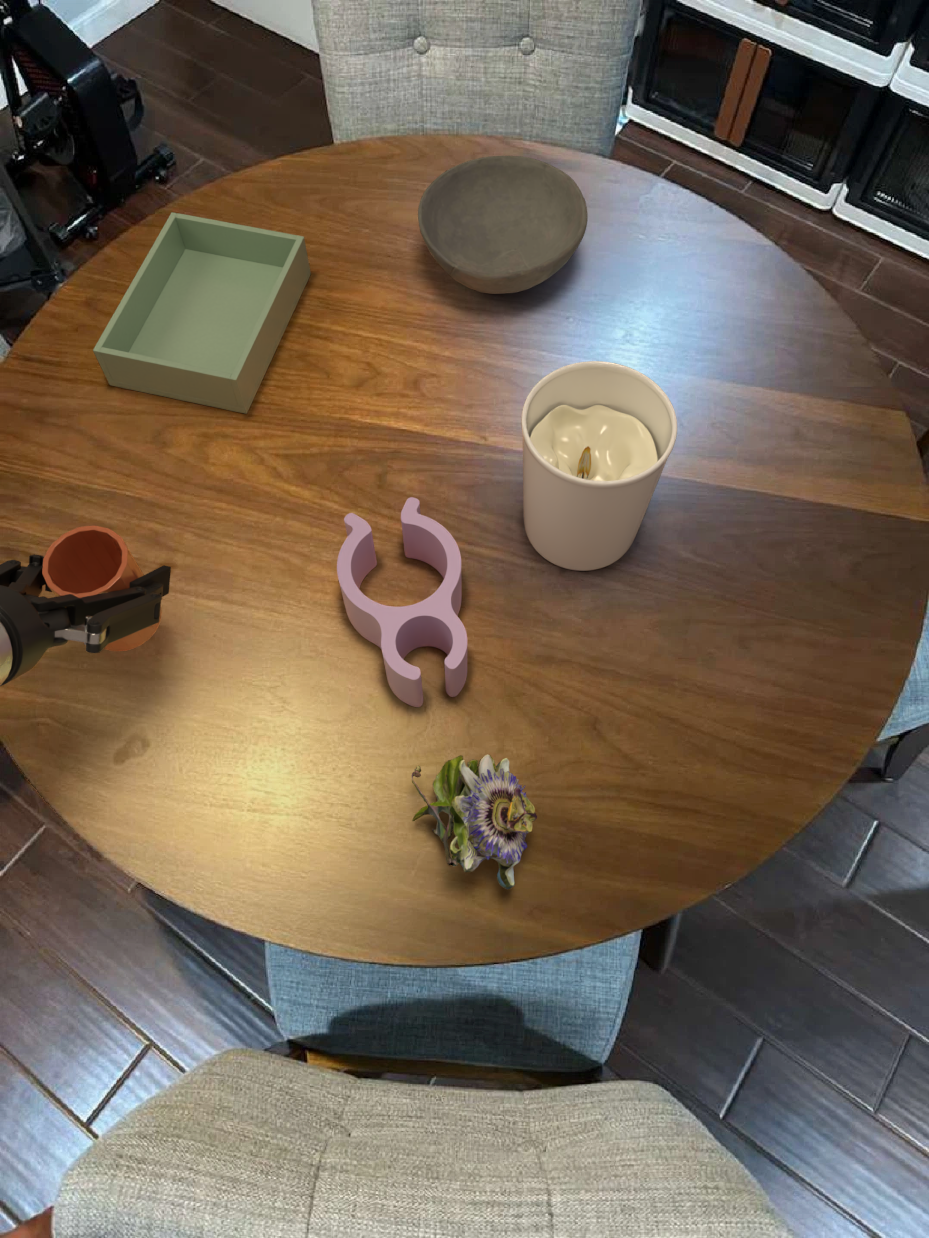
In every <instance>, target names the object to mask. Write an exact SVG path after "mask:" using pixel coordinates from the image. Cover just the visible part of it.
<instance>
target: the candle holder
mask: <svg viewBox="0 0 929 1238" xmlns="http://www.w3.org/2000/svg"><path fill="white" fill-rule="evenodd" d="M521 410H522V411H521V416H520V426H521V427H520V428H521V433H522V509H523V526H524V530H525V533H526V536H527V540H528V541H529V544H530V545H531V546H532V547H533V549H534V550H535V551H536V552H537V553H538V554H539V555H540V556H541V557H542V558H544V559H545V560H546V561H548V562H550V563H551V564H553V565H555V566H557V567H559V568H563V569H565V570H570V571H571V570H572V571H577V572H585V571H586V572H587V571H595V570H599V569H603V568H605V567H608V566H610V565H612V564H614V563H615V562H617V561H618V560H620V559H621V558H622V557H623V556H624V555H625V554H626V553H628V551H629V550H630V548H631V547H632V544H633V543H634V541H635V539H636V536H637V535H638V532H639V530H640V528H641V525H642V523H643V520H644V518H645V516H646V513H647V511H648V507H649V506H650V504H651V501H652V498H653V495H654V493H655V491H656V488H657V486H658V483H659V481H660V478H661V476H662V473H663V471H664V468H665V466H666V463H667V461H668V458H669V457H670V455H671V454H672V451H673V449H674V447H675V444H676V442H677V435H678V420H677V419H678V418H677V414H676V411H675V408H674V406H673V404H672V402H671V400H670V398H669V396H668V395H667V394H666V392H665V391H664V390H663V389H662V388H661V386H660V385H658V383H656V382H655V381H654V380H653V379H652V378H650V377H648V376H647V375H646V374H644V373H642V372H641V371H638V370H636V369H635V368H631V367H629V366H628V365H627V366H626V365H624V364H621V363H616V362H610V361H601V360H600V361H599V360H589V361H579V362H575V363H570V364H567V365H564V366H561V367H559V368H557V369H555V370H553V371H551V372H550V373H548V374H546V375H545V376H543V377H542V378H540V380H539V381H538V382H536V384H535V385H534V386H533V387H532V388H531V389H530V391H529V393H528V395H527V396H526V398H525V400H524V403H523V406H522V409H521Z"/></svg>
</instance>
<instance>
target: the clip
mask: <svg viewBox="0 0 929 1238" xmlns="http://www.w3.org/2000/svg"><path fill="white" fill-rule="evenodd" d="M420 506H421V504H420V500H419V499H418V498H416V497H413V496H410V497H407V499H406V501H405V503H404V505H403V507H402V510H401V512H400V523H401V533H402V542H403V550H404V556H405V557H406V558H408V559H414V560H418V561H421V562H424V563H426V564H428V565H429V566H431V567H433V568H434V569H435V570H436V571H437V572H438V573H439V574H440V576H441V577H442V578H443V580H442V582H441V584H440V585H439V586H438V588H437V589H436V590H435V591H434V592H433V593H432V594H431V595H429V596H428V597H427V598H425V599H423V600H420V601H418V602H416V603H413V604H409V605H404V606H403V605H402V606H392V605H386V604H382V603H379V602H377V601H375V600H373V599H371V598H370V597H368V596H366V594H364V593H363V592H362V591H361V589H360V587H361V585H362V583H363V581H364V579H365V578H366V577H367V575H368V574H369V573H370V572H372V570H373V569H375V568H376V567H377V565H378V561H377V555H376V549H375V543H374V536H373V531H372V527H371V525H370V524H369V523H368V521H367V520H366V519H364V518H362V517H360V516H358V515H357V514H356V513H354V512H349V513H347V514H346V515H345V516H344V518H343V522H344V527H345V533H346V538H345V539H344V542H343V543H342V545H341V547H340V549H339V552H338V556H337V559H336V560H337V561H336V575H337V579H338V583H339V588H340V591H341V595H342V601H343V604H344V609H345V612H346V615H347V618H348V620H349V622H350V624H351V625H352V627H353V628H354V629H355V630H356V632H357V633H358V634H359V635H360V636H362V638H364V639H366V640H367V641H369V642H370V643H372V644H373V645H375V646H377V647H378V648H379V649H381V653H382V658H383V664H384V670H385V674H386V675H385V677H386V680H387V683H388V686H389V688H390V690H391V692H392V693H393V694H394V695H395V696H396V697H397V699H399V700H400V701H401V702H402V703H405V704H406V705H408V706H410V707H415V708H420V707H422V706H423V704H424V693H423V683H422V682H423V681H422V673H421V669H420V668H419V667H418V666H416V665H414V664H413V665H412V664H410V663H409V662H407V661H406V660H404V659H405V658H406V656H407V655H408V654H409V653H411V652H412V651H413V650H416V649H419V648H422V647H431V648H437V649H439V650H441V651H442V652H444V653H445V654H446V655H447V656H446V657H445V659H444V661H443V662H444V680H445V681H444V682H445V692H446V694H447V695H448V696H449V697H452V698H455V697H457V696H458V695H459V694H460V692H462V690H463V688H464V686H465V684H466V682H467V677H468V634H467V633H468V632H467V629H466V627H465V625H464V623H463V622H462V620H461V619H460V617H458V615H459V613H460V610H461V607H462V599H463V597H462V596H463V595H462V593H463V592H462V587H463V586H462V585H463V584H462V555H461V552H460V548H459V546H458V543H457V541H456V540H455V538H454V537H453V535H452V534H451V532H449V531H448V529H447V528H446V527H445V526H443V525H442V524H440V523H439V522H438V521H436V520H435V519H433V518H431V517H429V516H427V515H423V514H421V507H420Z"/></svg>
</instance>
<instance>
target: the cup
mask: <svg viewBox="0 0 929 1238" xmlns="http://www.w3.org/2000/svg"><path fill="white" fill-rule="evenodd" d="M43 557H44V558H43V569H42V574H43V577H44V579H45V581H46V583H47V586H48V587H49V588H50V589H51V591H52V592H51V593H52V594H53V595H54V597H58V596H63V595H68V594H72V595H74V596H76V597H78V598H81V597H86V596H92V595H97V594H102V593H107V592H112V591H117V590H122V589H127V588H129V585H130V582H132V581H134V580H136V579H137V578H139V577H141V576H143V575H145V574H144V572H143V571H142V569H141V568H140V565H139V564H138V562H137V560H136V559H135V557H134V555H133V554H132V552H131V550H130V548H129V547H128V546H127V544H126V542H125V541H124V539H123V537H122V536H121V535H119V534H118V533H117V532H115V531H114V530H113V529H111V528H109V527H103V526H100V525H96V524H95V525H85V526H78V527H75V528H73V529H71V530H69V531H67V532H64V533H63V534H60V536H59V537H58V538H57V539H56V540H54V541H53V542H52V543H51V544H50V546H49V547H48V549H47V551H46V553H45V555H44V556H43ZM162 614H163V610H162V608H161V609H160V620H159V622H158V623H156V624H154V625H151V626H149V627H147V628H144V629H142V630H140V631H137V632H135V633H133V634H130V635H128V636H126V637H123V638H121V639H119V640H116V641H114V642H112V643H109V644H108V645H107V646H106V647H105V648H104V649H103V650H107V651H110V652H127V651H130V650H134V649H136V648H138V647H140V646H141V645H143V644H145V643H147V642H148V641H149V640H150V639H151V638H152V637H153V636H154V634H155V633H156V632H157V630H158V628H159V626H160V624H161V621H162Z"/></svg>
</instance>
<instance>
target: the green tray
mask: <svg viewBox="0 0 929 1238" xmlns="http://www.w3.org/2000/svg"><path fill="white" fill-rule="evenodd" d="M311 274H312V272H311V267H310V262H309V256H308V250H307V245H306V240H305V236H303V235H297V234H292V233H288V232H282V231H276V230H271V229H265V228H260V227H254V226H249V225H244V224H239V223H233V222H227V221H222V220H216V219H211V218H207V217H201V216H195V215H189V214H184V213H179V212H178V213H177V212H172V211H171V212H170V214H169V216H168V217H167V220H166V221H165V223H164V225H163V227H162V228H161V230H160V232H159V234H158V235H157V237H156V239H155V241H154V242H153V244H152V246H151V248H150V249H149V251H148V252H147V254H146V256H145V258H144V260H143V261H142V263H141V265H140V266H139V269H138V270H137V272H136V274H135V276H134V277H133V279H132V281H131V283H130V284H129V286H128V288H127V289H126V292H125V293H124V295H123V296H122V299H121V300H120V302H119V303H118V305H117V307H116V309H115V310H114V312H113V314H112V316H111V317H110V319H109V321H108V323H107V325H106V326H105V328H104V330H103V331H102V333H101V335H100V337H99V338H98V341H97V342H96V344H95V346H94V347H93V349H92V352H93V354H94V356H95V358H96V360H97V362H98V364H99V366H100V368H101V371H102V372H103V374H104V376H105V378H106V380H107V383H108V384H109V385H108V386H112V387H116V388H120V389H121V388H122V389H125V390H131V391H136V392H140V393H145V394H150V395H155V396H159V397H163V398H164V397H165V398H168V399H169V398H170V399H174V400H177V401H183V402H187V403H193V404H198V405H202V406H203V405H204V406H207V407H211V408H215V409H216V408H217V409H222V410H227V411H231V412H235V413H241V414H245V415H247V414H248V412H249V410H250V408H251V407H252V404H253V402H254V399H255V398H256V395H257V393H258V391H259V389H260V387H261V384H262V382H263V379H264V377H265V375H266V373H267V372H268V368H269V366H270V364H271V362H272V360H273V358H274V356H275V353H276V351H277V350H278V347H279V344H280V343H281V341H282V338H283V336H284V334H285V331H286V329H287V327H288V325H289V322H290V320H291V319H292V316H293V315H294V312H295V310H296V308H297V305H298V303H299V301H300V299H301V297H302V294H303V293H304V290H305V288H306V286H307V283H308V281H309V279H310V277H311Z"/></svg>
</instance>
